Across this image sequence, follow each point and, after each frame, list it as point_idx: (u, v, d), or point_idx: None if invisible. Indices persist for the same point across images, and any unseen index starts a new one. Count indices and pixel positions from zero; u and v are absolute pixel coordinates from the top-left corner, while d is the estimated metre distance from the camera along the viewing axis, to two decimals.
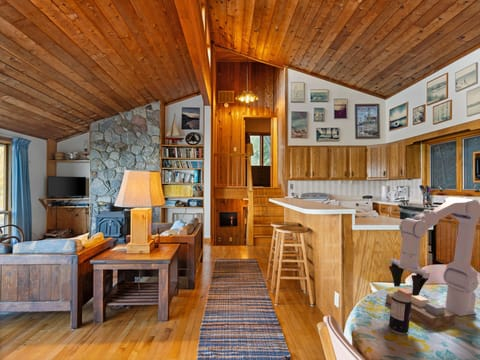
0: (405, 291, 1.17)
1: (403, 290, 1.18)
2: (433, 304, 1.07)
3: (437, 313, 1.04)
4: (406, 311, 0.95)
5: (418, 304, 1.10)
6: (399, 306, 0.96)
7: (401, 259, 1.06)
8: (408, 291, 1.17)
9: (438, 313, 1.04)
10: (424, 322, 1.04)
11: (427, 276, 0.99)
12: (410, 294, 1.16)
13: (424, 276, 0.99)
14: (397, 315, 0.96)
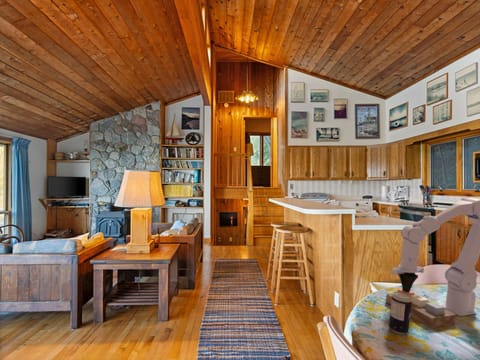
0: None
1: None
2: (433, 304, 1.07)
3: (437, 313, 1.04)
4: (406, 311, 0.95)
5: (418, 304, 1.10)
6: (399, 306, 0.96)
7: None
8: None
9: (438, 313, 1.04)
10: (424, 322, 1.04)
11: (394, 272, 1.15)
12: (410, 294, 1.16)
13: None
14: (397, 315, 0.96)
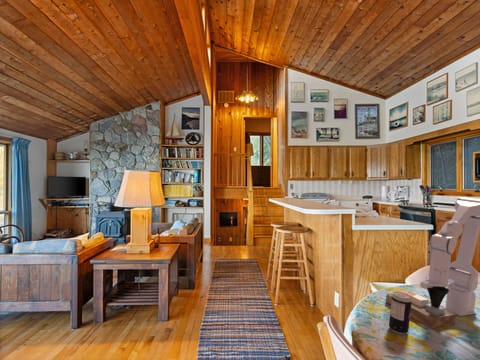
0: (405, 293, 1.18)
1: None
2: None
3: (437, 315, 1.04)
4: (406, 311, 0.95)
5: (418, 304, 1.10)
6: (399, 306, 0.96)
7: None
8: (408, 294, 1.17)
9: (438, 314, 1.04)
10: (424, 322, 1.04)
11: (422, 286, 1.04)
12: None
13: None
14: (397, 315, 0.96)
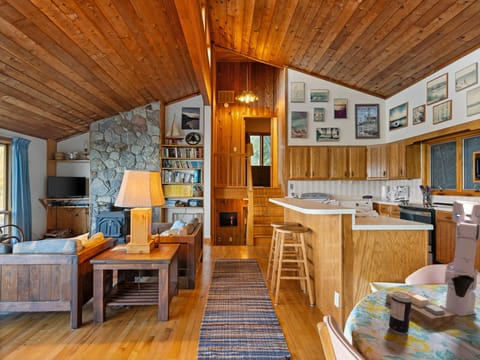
0: (405, 293, 1.18)
1: None
2: (433, 307, 1.07)
3: None
4: (406, 311, 0.95)
5: (418, 304, 1.10)
6: (399, 306, 0.96)
7: None
8: (408, 294, 1.17)
9: None
10: (424, 322, 1.04)
11: (449, 275, 1.01)
12: None
13: None
14: (397, 315, 0.96)
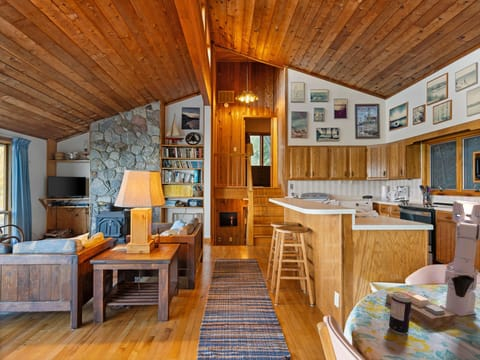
0: (405, 293, 1.18)
1: None
2: (433, 307, 1.07)
3: None
4: (406, 311, 0.95)
5: (418, 304, 1.10)
6: (399, 306, 0.96)
7: None
8: (408, 294, 1.17)
9: None
10: (424, 322, 1.04)
11: (449, 275, 1.01)
12: None
13: None
14: (397, 315, 0.96)
